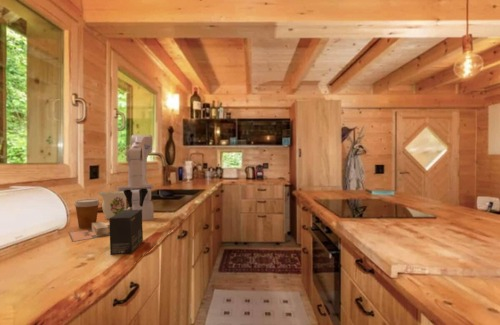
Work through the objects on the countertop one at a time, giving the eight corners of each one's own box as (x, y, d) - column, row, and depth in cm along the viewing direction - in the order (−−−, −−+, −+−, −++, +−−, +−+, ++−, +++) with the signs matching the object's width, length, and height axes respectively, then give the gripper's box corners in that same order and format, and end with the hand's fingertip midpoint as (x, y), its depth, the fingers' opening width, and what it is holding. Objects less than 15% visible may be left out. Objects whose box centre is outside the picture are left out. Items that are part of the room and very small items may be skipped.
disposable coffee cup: (104, 225, 121) (104, 199, 121) (90, 230, 112) (89, 202, 111) (85, 224, 122) (84, 198, 122) (69, 230, 113) (68, 202, 112)
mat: (123, 225, 121) (123, 224, 121) (133, 233, 108) (133, 231, 108) (68, 233, 108) (68, 232, 108) (72, 243, 95) (72, 242, 95)
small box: (123, 242, 97) (123, 209, 97) (143, 241, 98) (143, 209, 98) (109, 255, 84) (108, 217, 84) (131, 254, 85) (131, 217, 85)
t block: (120, 225, 118) (120, 218, 118) (127, 231, 108) (127, 224, 108) (91, 229, 111) (91, 222, 111) (96, 236, 102) (96, 228, 102)
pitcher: (138, 216, 139) (138, 190, 139) (102, 222, 126) (101, 193, 125) (129, 213, 147) (128, 188, 146) (93, 219, 133) (93, 191, 133)
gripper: (119, 176, 108) (120, 210, 108) (155, 175, 117) (155, 206, 118) (115, 175, 114) (116, 207, 114) (150, 174, 123) (150, 203, 123)
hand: (135, 206), depth 116 cm, fingers open, 4 cm apart
